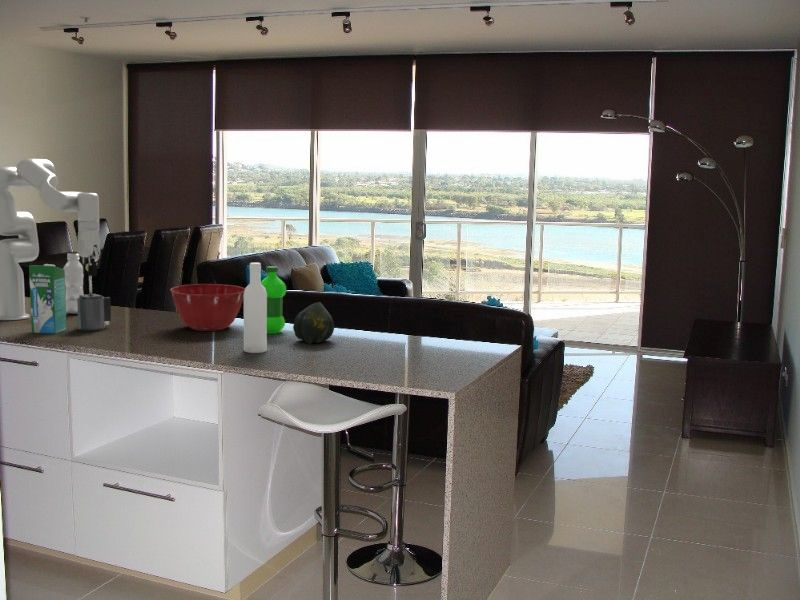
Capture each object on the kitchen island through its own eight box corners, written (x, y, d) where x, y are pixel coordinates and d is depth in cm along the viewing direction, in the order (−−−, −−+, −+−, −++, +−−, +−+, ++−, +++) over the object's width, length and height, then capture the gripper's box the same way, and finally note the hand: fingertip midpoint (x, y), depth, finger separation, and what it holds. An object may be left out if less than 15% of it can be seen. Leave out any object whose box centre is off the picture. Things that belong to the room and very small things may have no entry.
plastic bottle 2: (253, 333, 328) (253, 267, 325) (266, 329, 338) (266, 264, 334) (278, 335, 325) (278, 268, 322) (289, 331, 335) (290, 266, 332)
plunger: (79, 306, 328) (78, 262, 326) (95, 304, 333) (93, 262, 330) (86, 308, 324) (85, 264, 322) (102, 306, 328) (101, 263, 326)
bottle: (256, 354, 291) (256, 264, 287) (238, 351, 295) (238, 263, 291) (271, 350, 298) (272, 263, 294) (254, 347, 302) (254, 261, 298)
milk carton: (66, 329, 328) (64, 263, 324) (55, 333, 319) (52, 265, 315) (43, 328, 328) (41, 262, 325) (31, 332, 319) (28, 264, 316)
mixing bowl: (258, 330, 334) (258, 291, 332) (186, 337, 318) (186, 295, 316) (228, 319, 357) (228, 282, 355) (160, 325, 341) (159, 286, 339)
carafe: (74, 328, 330) (73, 295, 328) (104, 325, 338) (103, 292, 336) (85, 332, 323) (84, 297, 321) (115, 328, 331) (115, 295, 330)
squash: (286, 330, 306) (315, 298, 306) (285, 324, 320) (312, 294, 321) (316, 356, 308) (345, 325, 309) (314, 350, 323) (341, 320, 323)
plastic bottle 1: (89, 314, 363) (87, 254, 360) (70, 316, 357) (68, 255, 353) (79, 311, 369) (78, 252, 365) (60, 313, 362) (58, 253, 359)
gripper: (69, 225, 327) (70, 273, 330) (89, 227, 316) (90, 278, 318) (88, 224, 333) (90, 272, 335) (108, 227, 321) (109, 276, 323)
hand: (90, 274), depth 327 cm, fingers open, 3 cm apart
